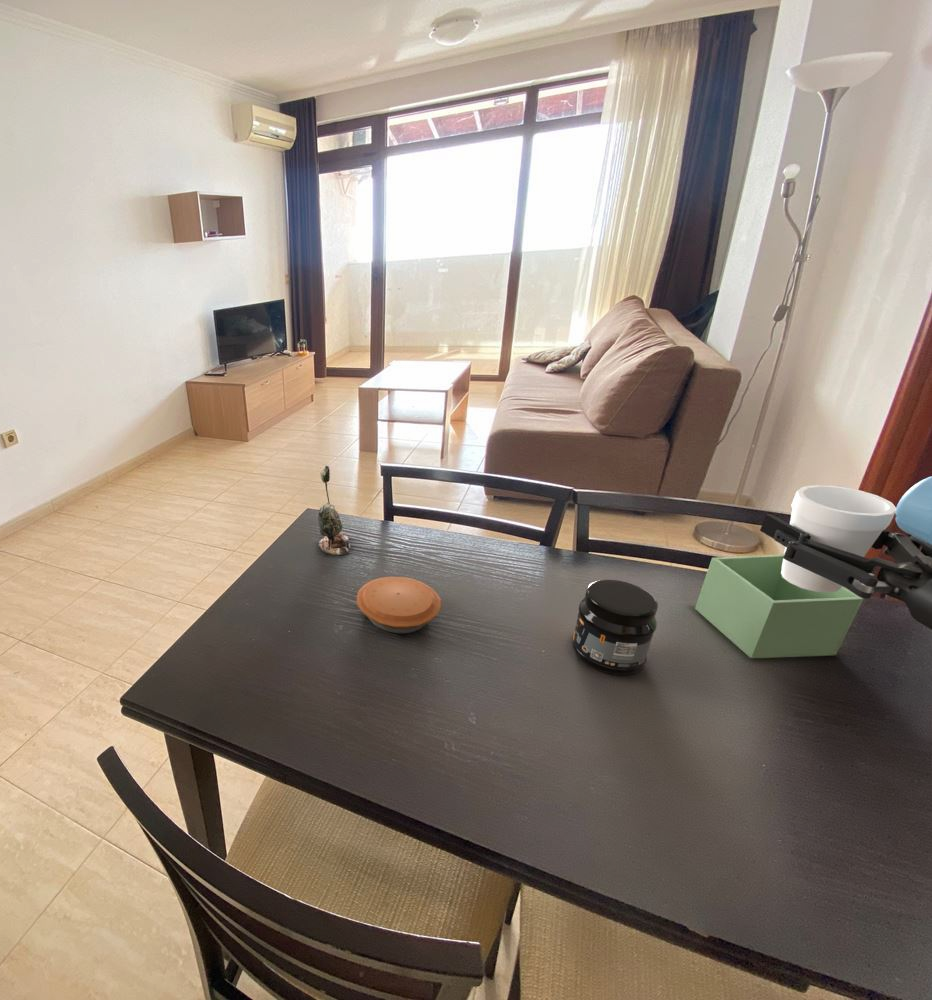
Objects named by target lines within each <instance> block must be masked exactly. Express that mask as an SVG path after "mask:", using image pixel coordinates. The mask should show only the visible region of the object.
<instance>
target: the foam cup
mask: <svg viewBox="0 0 932 1000" xmlns="http://www.w3.org/2000/svg"><path fill="white" fill-rule="evenodd" d="M790 507H791V509H792V510H791V514H790V520H789V524H790V525H792V526H794V527H795V528H797V529H799V530H801V531H803V532H804V533H807V534H809V535H810V536H811V537H810V540H812V541H815V542H818V543H821V544H825V545H828V546H831V547H834V548H837V549H840V550H843V551H846V552H849V553H853V554H856V555H859V556H862V557H865V556H866V555H867V553H869V550H871V548H872V547H871V546H872V545H873V544H874V542H875V541H876V539H877V538H878V537H879V535H880V534H881V532H882V531H883V530H885V529H886V530H887V528H888V527H889V526H890V524H891V523H892V520H893V518H894V516H895V515H896V513H895V511H896V507H897V506H895V505H894V503H893V502H892V501H890V500H888V499H886V498H885V497H882V496H879V495H877V494H873V493H871V492H867V491H863V490H861V489H857V488H856V489H855V488H851V487H850V488H849V487H843V486H838V485H827V484H826V485H825V484H822V485H821V484H814V485H806V486H802V487H800V488H799V489H797V490H796V492H795V494H794V498H793V500H792V503H791V505H790ZM786 549H787V547H785V546H784V553H783V554H785V551H786ZM781 569H782V571H781V574H782V577H783V578H784V579H786V580H787V581H788V582H789V583H791V584H794V585H796V586H798V587H800V588H803V589H807V590H811V591H815V592H823V593H832V592H838V591H839V590H840V589H841V587H842V586H841V585H839V584H837V583H835V582H833V581H830V580H828V579H826V578H824V577H822V576H820V575H817V574H815V573H813V572H811V571H809V570H807V569H804V568H802V567H800V566H798V565H796V564H794V563H791V562H789V561H787V560H785V559H784V558H783V563H782V568H781Z"/></svg>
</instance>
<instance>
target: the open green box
mask: <svg viewBox="0 0 932 1000" xmlns="http://www.w3.org/2000/svg"><path fill="white" fill-rule="evenodd" d="M783 556H784V553H783V554H782V553H781V554H764V555H762V554H761V555H742V556H721V557H720V556H719V557H711V560H710V562H709V566H708V568H707V571H706V575H705V578H704V580H703V583H702V587H701V590H700V592H699V596H698V599H697V601H696V605H695V608H694V609H695V610H696V611H697V612H698V613H699V614H700V615H701V616H702V617H704V618H705V619H706V620H707V621H708V622H709V623H710V624H711V625H712V626H714V627H715V628H716V629H717V630H718V631H720V633H722V634H723V635H724V636H725V637H726V638H727V639H729V640H730V641H731V642H732V643H733V644H734V645H735V646H736V647H737V648H738V649H740V650H741V651H742V652H743V653H744V654H745V655H746V656H748V657H749V658H750V659H771V658H772V659H773V658H775V659H776V658H798V657H825V656H827V657H828V656H837V654H838V652H839V650H840V648H841V645H842V644H843V642H844V640H845V637H846V636H847V633H848V632H849V631H850V630H849V629H850V627H851V625H852V623H853V621H854V619H855V617H856V615H857V614H858V612H859V610H860V607H861V605H862V603H863V601H864V598H862V597H859V596H857V595H856V594H854V593H853V592H851V591H850V590H849V589H847V588H846V587H843V586H842V587H841V589H840V590H839V591H838V592H832V593H823V592H815V591H811V590H807V589H803V588H800V587H798V586H796V585H794V584H791V583H789V582H788V581H787V580H786V579H784V578H783V577H782V574H781V571H782V569H781V568H782V563H783Z"/></svg>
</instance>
